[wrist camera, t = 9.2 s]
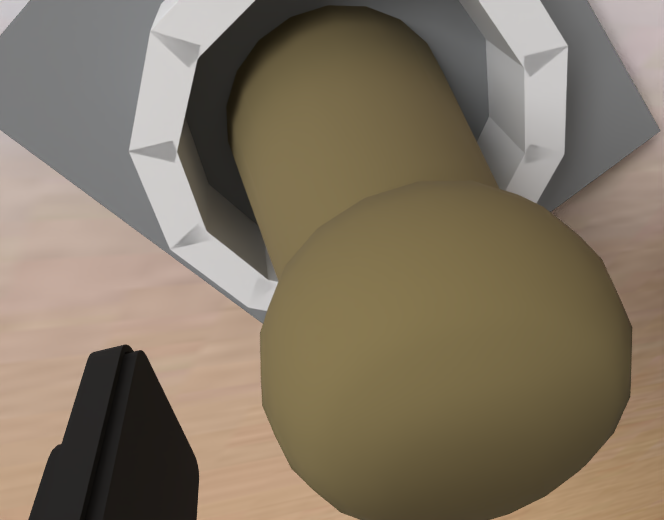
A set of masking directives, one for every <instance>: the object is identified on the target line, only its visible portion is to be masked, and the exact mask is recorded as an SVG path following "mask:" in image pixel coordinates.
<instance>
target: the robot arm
mask: <svg viewBox="0 0 664 520" xmlns="http://www.w3.org/2000/svg"><path fill="white" fill-rule="evenodd" d="M198 487H199V470H198V464H197V460H196V457H195V455H194V453H193V451H192V449H191V447H190V445H189V442H188V440H187V438H186V436H185V434H184V432H183V430H182V428H181V426H180V424H179V422H178V420H177V418H176V416H175V414H174V412H173V410H172V408H171V405H170V403H169V401H168V399H167V397H166V395H165V393H164V391H163V389H162V387H161V385H160V383H159V381H158V379H157V377H156V375H155V373H154V371H153V368H152V366H151V364H150V362H149V360H148V358H147V356H146V355H145V353H144V352H143V351H142V350H139V351H135V352H134V351H133V350H132V348H131V347H130V346H129V345H121V346H117V347H113V348H109V349H105V350H101V351H96V352H93V353H91V354H90V356H89V358H88V360H87V363H86V366H85V370H84V373H83V376H82V379H81V383H80V386H79V389H78V392H77V396H76V399H75V402H74V405H73V409H72V412H71V415H70V418H69V421H68V425H67V428H66V431H65V434H64V438H63V441H62V444H60V445H57V446H56V447H55V448H54V449H53V450H52V452H51V454H50V456H49V458H48V461H47V464H46V467H45V470H44V473H43V476H42V479H41V483H40V486H39V489H38V492H37V495H36V498H35V501H34V504H33V507H32V510H31V513H30V516H29V520H197V503H198Z"/></svg>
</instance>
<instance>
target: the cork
mask: <svg viewBox="0 0 664 520" xmlns="http://www.w3.org/2000/svg"><path fill="white" fill-rule="evenodd" d="M226 110H227V133H228V143H229V145H230V148H231V151H232V154H233V157H234V159H235V162H236V165H237V168H238V170H239V173H240V176H241V179H242V182H243V184H244V187H245V190H246V193H247V195H248V198H249V201H250V204H251V206H252V209H253V212H254V215H255V218H256V220H257V223H258V226H259V229H260V231H261V234H262V237H263V240H264V243H265V245H266V248H267V251H268V254H269V256H270V259H271V262H272V265H273V268H274V270H275V273H276V276H277V279H278V281H279V282H278V284H277V287H276V289H275V292H274V294H273V297H272V299H271V302H270V304H269V307H268V310H267V313H266V316H265V319H264V322H263V326H262V329H261V332H260V354H261V389H262V406H263V408H264V411H265V413H266V415H267V418H268V420H269V423H270V425H271V427H272V430H273V432H274V435H275V437H276V439H277V441H278V443H279V445H280V447H281V449H282V451H283V453H284V455H285V457H286V459H287V461H288V463H289V465H290V467H291V469H292V470H293V471H295V472H296V473H297V474H298V475H299V476H300V477H301V478H302V479H303V480H304V481H305V482H306V483H307V484H308V485H309V486H310V487H311V488H312V489H313V490H314V491H315V492H316V493H318V494H319V495H320V496H321V497H323V498H324V499H325V500H326V501H327V502H329V503H330V504H331V505H332V506H334V507H335V508H336V509H337V510H338V511H340V512H341V513H344V514H346V515H349V516H352V517H355V518H357V519H360V520H490V519H494V518H497V517H501V516H504V515H507V514H510V513H512V512H514V511H516V510H518V509H520V508H522V507H524V506H526V505H528V504H530V503H532V502H534V501H536V500H539V499H541V498H543V497H545V496H546V495H548V494H549V493H550V492H552V491H553V490H554V489H556V488H557V487H558V486H560V485H561V484H562V483H564V482H565V481H566V480H568V479H569V478H570V477H572V476H573V475H574V474H576V473H577V472H578V471H580V470H581V469H582V468H583V467H584V466H585V465H586V464H587V463H588V462H589V461H590V460H591V459H592V457H593V456H594V455H595V454H596V453H597V452H598V450H599V449H600V448H601V447H602V446H603V445H604V443H605V442H606V441H607V440H608V439H609V438H610V436H611V435H612V434H613V433H614V431H615V429H616V427H617V425H618V422H619V420H620V418H621V416H622V414H623V411H624V409H625V407H626V405H627V403H628V400H629V398H630V386H631V355H632V326H631V323H630V321H629V319H628V316H627V314H626V312H625V309H624V307H623V305H622V302H621V300H620V298H619V295H618V293H617V291H616V289H615V287H614V285H613V282H612V280H611V278H610V276H609V274H608V272H607V270H606V267H605V265H604V263H603V261H602V259H601V258H600V257H599V256H598V255H597V254H596V253H595V252H594V251H593V250H592V249H591V248H590V246H589V245H588V244H587V243H586V242H585V241H584V240H583V239H582V238H581V237H580V236H579V235H578V234H576V233H575V232H574V231H573V230H571V229H570V228H569V227H568V226H567V225H565V224H564V223H563V222H562V221H560V220H559V219H558V218H557V217H555V216H554V215H553V214H552V213H550V212H549V211H548V210H547V209H546V208H544V207H543V206H541V205H539V204H537V203H535V202H533V201H530V200H528V199H526V198H524V197H522V196H520V195H518V194H515V193H511V192H508V191H505V190H502V189H499V187H498V185H497V183H496V180H495V178H494V176H493V174H492V172H491V170H490V168H489V166H488V164H487V162H486V160H485V158H484V156H483V154H482V152H481V150H480V147H479V145H478V143H477V141H476V139H475V137H474V135H473V133H472V131H471V129H470V127H469V125H468V123H467V121H466V119H465V117H464V114H463V112H462V110H461V108H460V106H459V104H458V102H457V100H456V98H455V96H454V94H453V92H452V90H451V88H450V86H449V84H448V82H447V79H446V77H445V75H444V73H443V71H442V70H441V68H440V66H439V64H438V62H437V60H436V58H435V57H434V55H433V53H432V51H431V49H430V47H429V46H428V44H427V43H426V42H425V41H424V40H423V39H422V38H421V37H420V36H419V35H417V34H416V33H415V32H414V31H413V30H412V29H411V28H409V27H408V26H407V25H406V24H405V23H404V22H403V21H401V20H400V19H398V18H395V17H392V16H390V15H387V14H385V13H382V12H379V11H377V10H374V9H372V8H369V7H367V6H335V5H327V6H324V7H321V8H318V9H314V10H311V11H308V12H305V13H302V14H299V15H296V16H292V17H290V18H288V19H287V20H286V21H284V22H283V23H282V24H280V25H279V26H278V27H276V28H275V29H273V30H272V31H271V32H269V33H268V34H267V35H265V36H264V37H263V38H261V39H260V40H259V41H258V42H257V43H256V45H255V46H254V48H253V49H252V50H251V52H250V53H249V55H248V56H247V58H246V59H245V60H244V62H243V63H242V65H241V66H240V67H239V69H238V70H237V72H236V75H235V79H234V82H233V86H232V89H231V92H230V96H229V99H228V103H227V106H226Z"/></svg>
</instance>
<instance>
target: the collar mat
mask: <svg viewBox="0 0 664 520" xmlns="http://www.w3.org/2000/svg"><path fill="white" fill-rule="evenodd" d="M327 5H335V6H367V7H369V8H372V9H374V10H377V11H379V12H382V13H385V14H387V15H390V16H392V17H395V18H398V19H400V20H401V21H403V22H404V23H405V24H406V25H407V26H408V27H409V28H411V29H412V30H413V31H414V32H415V33H416V34H417V35H419V36H420V37H421V38H422V39H423V40H424V41H425V42H426V43H427V44H428V46H429V47H430V49H431V51H432V53H433V55H434V57H435V58H436V60H437V62H438V64H439V66H440V68H441V70H442V71H443V73H444V75H445V77H446V79H447V82H448V84H449V86H450V88H451V90H452V92H453V94H454V96H455V98H456V100H457V102H458V104H459V106H460V108H461V110H462V112H463V114H464V117H465V119H466V121H467V123H468V125H469V127H470V129H471V131H472V133H473V135H474V137H475V139H476V141H477V143H478V145H479V147H480V150H481V152H482V154H483V156H484V158H485V160H486V162H487V164H488V166H489V168H490V170H491V172H492V174H493V176H494V178H495V180H496V183H497V185H498V187H499V189H502V190H505V191H508V192H511V193H515V194H518V195H520V196H522V197H524V198H526V199H528V200H530V201H533V202H535V203H537V204H539V205H541V206H543V207H544V208H546V209H547V210H548V211H549V212H551V211H553V210H554V209H555V208H557V207H558V206H559V205H561V204H562V203H563V202H565V201H566V200H567V199H569V198H570V197H572V196H573V195H574V194H576V193H577V192H578V191H580V190H581V189H582V188H584V187H585V186H586V185H588V184H589V183H591V182H592V181H593V180H595V179H596V178H597V177H599V176H600V175H601V174H603V173H604V172H605V171H607V170H608V169H610V168H611V167H612V166H614V165H615V164H616V163H618V162H619V161H620V160H622V159H623V158H624V157H626V156H627V155H629V154H630V153H631V152H633V151H634V150H635V149H637V148H638V147H639V146H641V145H642V144H643V143H645V142H646V141H648V140H649V139H650V138H652V137H653V136H654V135H656V134H657V133H658V132H660V129H659V127H658V126H657V124H656V122H655V120H654V118H653V117H652V115H651V113H650V111H649V110H648V108H647V106H646V104H645V102H644V101H643V99H642V97H641V95H640V94H639V92H638V90H637V88H636V86H635V85H634V83H633V81H632V79H631V78H630V76H629V74H628V72H627V70H626V69H625V67H624V65H623V63H622V62H621V60H620V58H619V56H618V54H617V53H616V51H615V49H614V47H613V46H612V44H611V42H610V40H609V38H608V37H607V35H606V33H605V31H604V30H603V28H602V26H601V24H600V22H599V21H598V19H597V17H596V15H595V14H594V12H593V10H592V8H591V6H590V5H589V3H588V1H587V0H30V1H29V2H28V3H27V5H26V6H25V7H24V8H23V9H22V11H21V12H20V13H19V14H18V15H17V16H16V18H15V19H14V20H13V21H12V22H11V24H10V25H9V26H8V27H7V28H6V29H5V31H4V32H3V33H2V34H1V35H0V130H1V131H3V132H4V133H5V134H7V135H8V136H9V137H11V138H12V139H13V140H15V141H16V142H17V143H19V144H20V145H21V146H23V147H24V148H26V149H27V150H28V151H30V152H31V153H32V154H34V155H35V156H36V157H38V158H39V159H40V160H42V161H43V162H45V163H46V164H47V165H49V166H50V167H51V168H53V169H54V170H55V171H57V172H58V173H59V174H61V175H62V176H63V177H65V178H66V179H68V180H69V181H70V182H72V183H73V184H74V185H76V186H77V187H78V188H80V189H81V190H82V191H84V192H85V193H87V194H88V195H89V196H91V197H92V198H93V199H95V200H96V201H97V202H99V203H100V204H101V205H103V206H104V207H105V208H107V209H108V210H110V211H111V212H112V213H114V214H115V215H116V216H118V217H119V218H120V219H122V220H123V221H124V222H126V223H127V224H129V225H130V226H131V227H133V228H134V229H135V230H137V231H138V232H139V233H141V234H142V235H143V236H145V237H146V238H147V239H149V240H150V241H152V242H153V243H154V244H156V245H157V246H158V247H160V248H161V249H162V250H164V251H165V252H166V253H168V254H169V255H171V256H172V257H173V258H175V259H176V260H177V261H179V262H180V263H181V264H183V265H184V266H185V267H187V268H188V269H189V270H191V271H192V272H194V273H195V274H196V275H198V276H199V277H200V278H202V279H203V280H204V281H206V282H207V283H208V284H210V285H211V286H212V287H214V288H215V289H217V290H218V291H219V292H221V293H222V294H223V295H225V296H226V297H227V298H229V299H230V300H231V301H233V302H234V303H236V304H237V305H238V306H240V307H241V308H242V309H244V310H245V311H246V312H248V313H249V314H250V315H252V316H253V317H254V318H256V319H257V320H259V321H260V322H261V323H263V322H264V319H265V316H266V313H267V310H268V307H269V304H270V302H271V299H272V297H273V294H274V292H275V289H276V287H277V284H278V282H279V281H278V279H277V276H276V273H275V270H274V268H273V265H272V262H271V259H270V256H269V254H268V251H267V248H266V245H265V243H264V240H263V237H262V234H261V231H260V229H259V226H258V223H257V220H256V218H255V215H254V212H253V209H252V206H251V204H250V201H249V198H248V195H247V193H246V190H245V187H244V184H243V182H242V179H241V176H240V173H239V170H238V168H237V165H236V162H235V159H234V157H233V154H232V151H231V148H230V145H229V143H228V133H227V110H226V106H227V103H228V99H229V96H230V92H231V89H232V86H233V82H234V79H235V75H236V72H237V70H238V69H239V67H240V66H241V65H242V63H243V62H244V60H245V59H246V58H247V56H248V55H249V53H250V52H251V50H252V49H253V48H254V46H255V45H256V43H257V42H258V41H259V40H260V39H261V38H263V37H264V36H265V35H267V34H268V33H269V32H271V31H272V30H273V29H275V28H276V27H278V26H279V25H280V24H282V23H283V22H284V21H286V20H287V19H288V18H290V17H292V16H296V15H299V14H302V13H305V12H308V11H311V10H314V9H318V8H321V7H324V6H327Z"/></svg>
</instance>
